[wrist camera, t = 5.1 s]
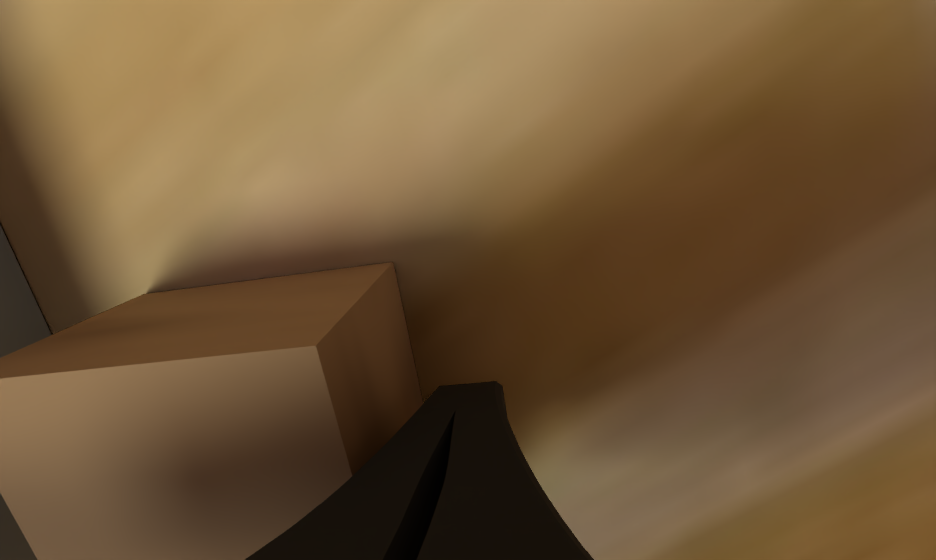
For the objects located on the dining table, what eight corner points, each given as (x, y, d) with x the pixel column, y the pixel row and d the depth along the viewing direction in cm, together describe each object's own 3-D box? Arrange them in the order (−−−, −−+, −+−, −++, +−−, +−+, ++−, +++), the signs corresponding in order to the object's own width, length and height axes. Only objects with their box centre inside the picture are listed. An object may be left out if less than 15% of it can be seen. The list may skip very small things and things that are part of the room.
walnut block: (441, 490, 12) (405, 665, 8) (224, 502, 12) (96, 665, 9) (393, 262, 10) (315, 345, 6) (144, 294, 11) (-61, 384, 7)
